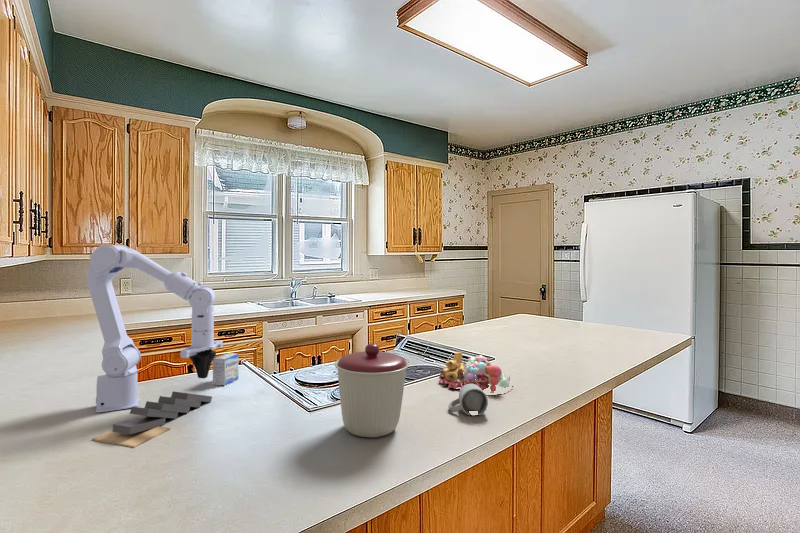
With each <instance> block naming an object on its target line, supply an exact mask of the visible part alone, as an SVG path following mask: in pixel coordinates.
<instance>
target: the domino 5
mask: <svg viewBox="0 0 800 533" xmlns="http://www.w3.org/2000/svg"><path fill="white" fill-rule="evenodd" d="M170 397H171V398H179V399H186V400H193V401H200V402H203V403H212V398H213V396H211V395H202V394H197V393H188V392H179V391H172V392H171V396H170Z"/></svg>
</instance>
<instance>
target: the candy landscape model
mask: <svg viewBox="0 0 800 533" xmlns="http://www.w3.org/2000/svg"><path fill="white" fill-rule="evenodd" d="M462 359H463V352H461V351H457V352H456V351H455V352H454V356H453V358H450V359H449V360H447V361H446V362H445V366H446V367H445V368H443V369H442V370H441V372H440V374H439V377H438V381H437V382H438V383H440V386H444V385H447V384H449V385H447V387H448V388H447V389H450V388H453V389H452V390H455V389H456V388H458V389H461V388H462V387H463V386H464V385H466V384H475V385H477V386H479V387H480V388H481V389H482V390H484V389H486V388H488V387H489V385H488V384H490V385H491V386H490V389H491V392H490V393H494V391H496V386H495V385H497V386H499V387H502V388H503V387H504V388H506V387H509V384H510V382H511V375H509V376H506V375H505V374H504V373H503V371H502V369H501V367H500V366H498V365H492V364H491V363H490V362H489V361H488V359H487V357H485V356H483V355H482V354H480V355H478V356H475V357H474V356H471V357H468V359H467V361H466V362H461V361H462ZM475 375H476V376H475ZM475 379H476V380H475ZM509 381H510V382H509Z"/></svg>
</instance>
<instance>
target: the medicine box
mask: <svg viewBox="0 0 800 533" xmlns="http://www.w3.org/2000/svg"><path fill="white" fill-rule="evenodd" d="M239 361H240V360H239V354H238V353H233V352H227V353H224V354H222V355H219V356H217V357H216V356H215V357H214V358H213V360H212V385H213V386H221V385H224V387H225V385H226V386H227V384H228V385H230V384H231V383H234V382H235V381H236V380H237V381H238V379H239Z"/></svg>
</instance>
